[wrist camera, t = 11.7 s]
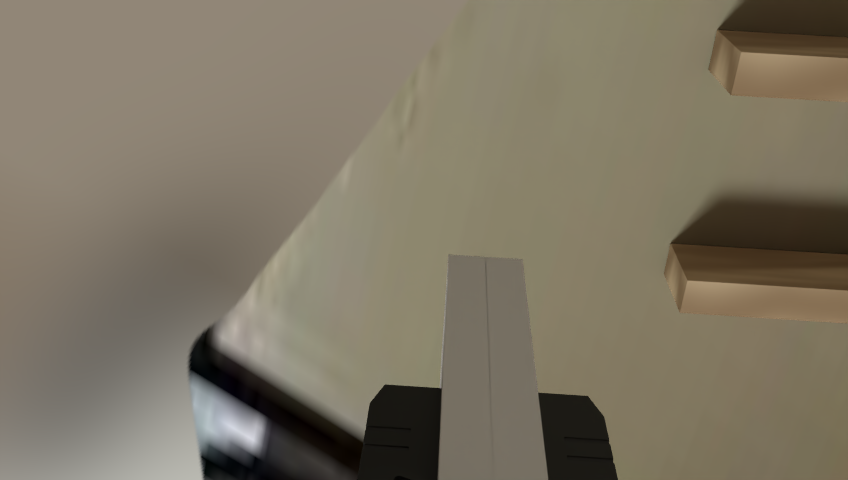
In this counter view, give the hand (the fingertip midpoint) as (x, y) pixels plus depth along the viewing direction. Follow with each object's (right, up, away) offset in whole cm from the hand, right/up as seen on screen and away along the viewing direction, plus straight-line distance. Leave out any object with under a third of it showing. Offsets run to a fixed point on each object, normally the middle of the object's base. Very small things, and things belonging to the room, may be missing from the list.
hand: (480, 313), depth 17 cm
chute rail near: (+19, +11, +23) cm, 32 cm away
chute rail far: (+19, 0, +29) cm, 35 cm away
